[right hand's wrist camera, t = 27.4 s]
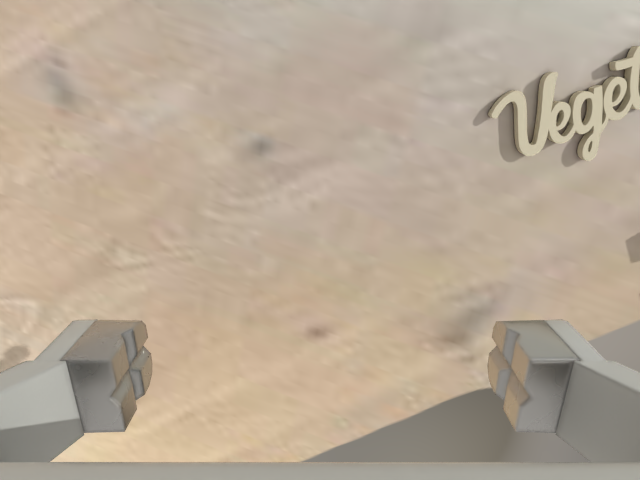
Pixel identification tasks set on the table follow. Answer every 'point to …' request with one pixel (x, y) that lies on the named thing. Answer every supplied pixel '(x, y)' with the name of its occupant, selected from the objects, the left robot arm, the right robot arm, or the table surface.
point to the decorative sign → (575, 109)
